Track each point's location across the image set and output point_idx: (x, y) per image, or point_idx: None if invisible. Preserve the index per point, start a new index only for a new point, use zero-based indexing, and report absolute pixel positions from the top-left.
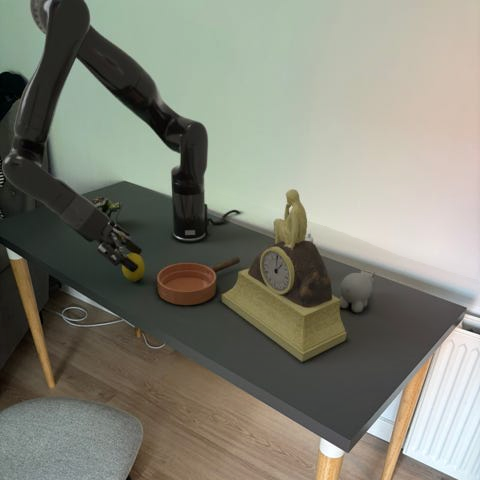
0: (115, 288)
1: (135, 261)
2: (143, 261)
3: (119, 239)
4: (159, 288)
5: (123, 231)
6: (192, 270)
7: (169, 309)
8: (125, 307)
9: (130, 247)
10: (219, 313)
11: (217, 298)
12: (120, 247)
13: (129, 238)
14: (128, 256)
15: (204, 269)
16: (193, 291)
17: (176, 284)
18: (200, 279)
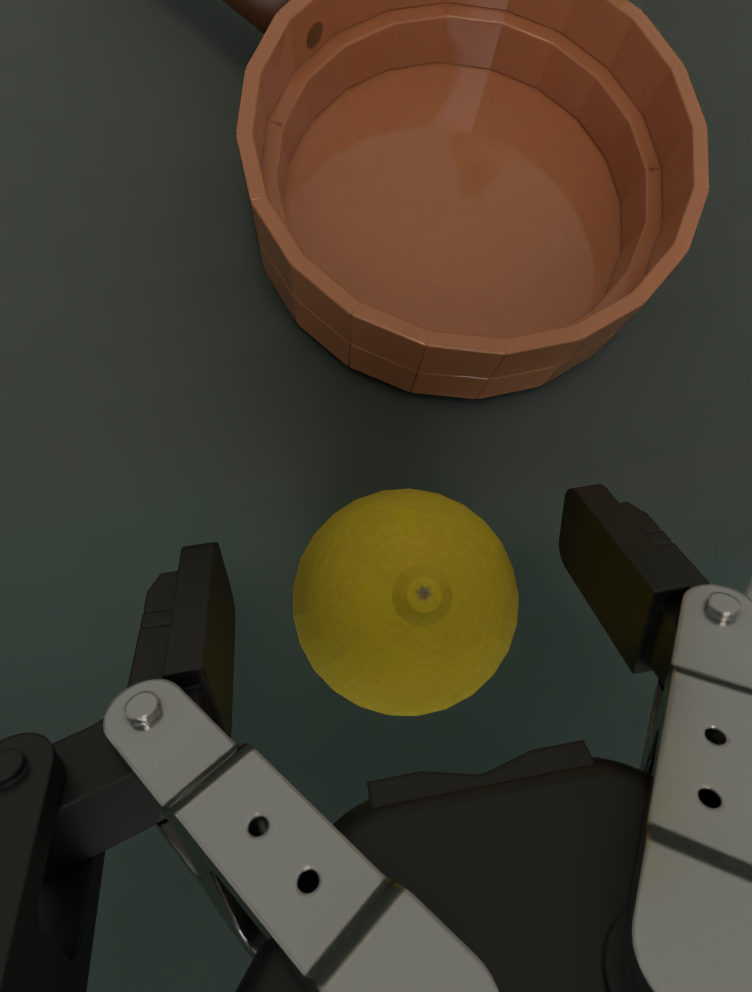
0: (518, 726)
1: (487, 542)
2: (368, 496)
3: (448, 812)
4: (601, 339)
5: (35, 863)
6: (267, 158)
7: (696, 286)
8: (746, 570)
9: (222, 676)
10: (666, 17)
11: None
12: (745, 688)
13: (160, 704)
14: (462, 632)
15: (291, 47)
16: (680, 63)
17: (399, 286)
18: (305, 142)
